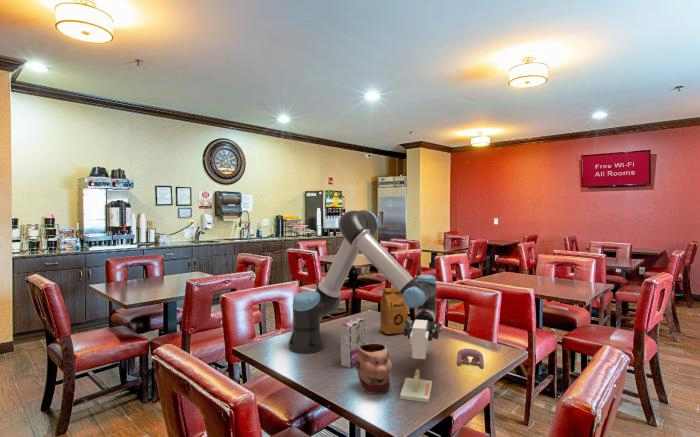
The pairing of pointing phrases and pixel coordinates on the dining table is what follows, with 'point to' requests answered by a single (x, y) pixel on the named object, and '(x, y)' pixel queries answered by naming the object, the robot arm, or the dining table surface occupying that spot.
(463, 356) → the video game controller
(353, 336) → the candy bar box
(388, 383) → the decorative planter
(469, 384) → the dining table surface
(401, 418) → the dining table surface
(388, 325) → the coffee package
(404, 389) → the board
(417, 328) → the block
